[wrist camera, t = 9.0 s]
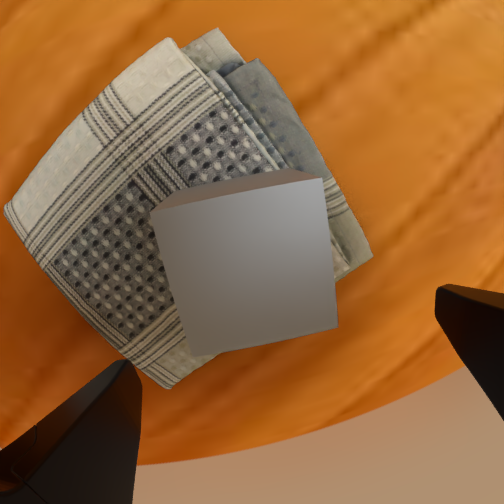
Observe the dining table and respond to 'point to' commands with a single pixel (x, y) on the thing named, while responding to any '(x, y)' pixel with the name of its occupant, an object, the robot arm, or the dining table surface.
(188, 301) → the slate block
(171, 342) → the dish towel
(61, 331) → the dining table surface
